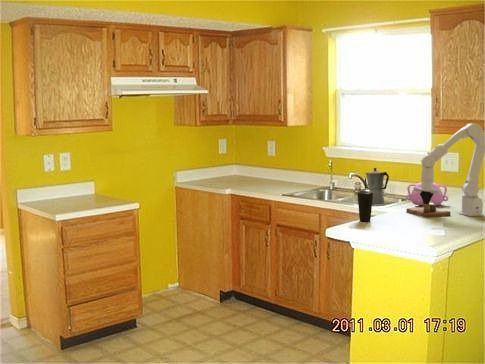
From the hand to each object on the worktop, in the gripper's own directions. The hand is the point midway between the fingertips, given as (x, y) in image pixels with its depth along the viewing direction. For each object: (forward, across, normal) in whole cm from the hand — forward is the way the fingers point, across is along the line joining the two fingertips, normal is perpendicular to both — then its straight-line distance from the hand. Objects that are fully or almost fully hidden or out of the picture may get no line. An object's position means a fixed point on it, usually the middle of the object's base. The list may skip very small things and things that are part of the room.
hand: (426, 207), depth 294 cm
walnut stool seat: (+3, +2, -1) cm, 4 cm away
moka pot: (+4, -36, +6) cm, 36 cm away
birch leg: (+1, +1, +2) cm, 3 cm away
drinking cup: (+4, -6, -38) cm, 39 cm away
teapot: (+3, -15, +21) cm, 26 cm away
